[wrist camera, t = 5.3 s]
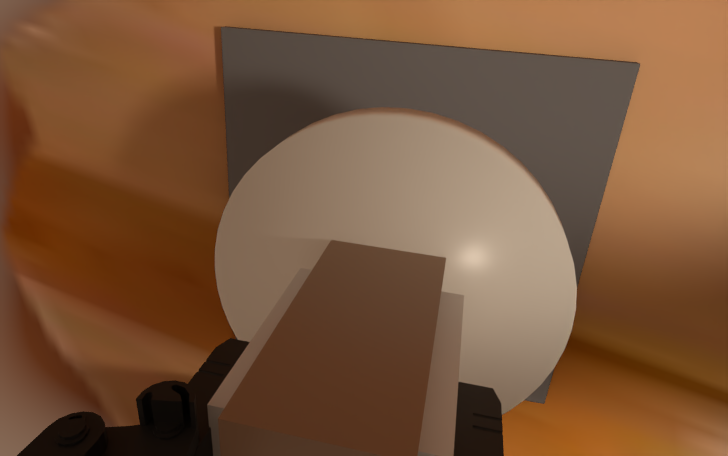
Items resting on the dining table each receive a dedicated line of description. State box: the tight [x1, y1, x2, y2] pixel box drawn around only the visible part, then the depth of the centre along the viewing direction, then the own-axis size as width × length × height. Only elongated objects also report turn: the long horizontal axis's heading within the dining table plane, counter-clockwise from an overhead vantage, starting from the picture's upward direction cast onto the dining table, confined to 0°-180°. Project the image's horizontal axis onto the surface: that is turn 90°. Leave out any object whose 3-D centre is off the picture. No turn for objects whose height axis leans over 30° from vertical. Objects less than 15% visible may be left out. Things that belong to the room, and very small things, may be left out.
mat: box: [221, 27, 640, 404], centre depth 26 cm, size 18×18×1 cm
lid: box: [215, 107, 577, 456], centre depth 15 cm, size 13×13×10 cm
